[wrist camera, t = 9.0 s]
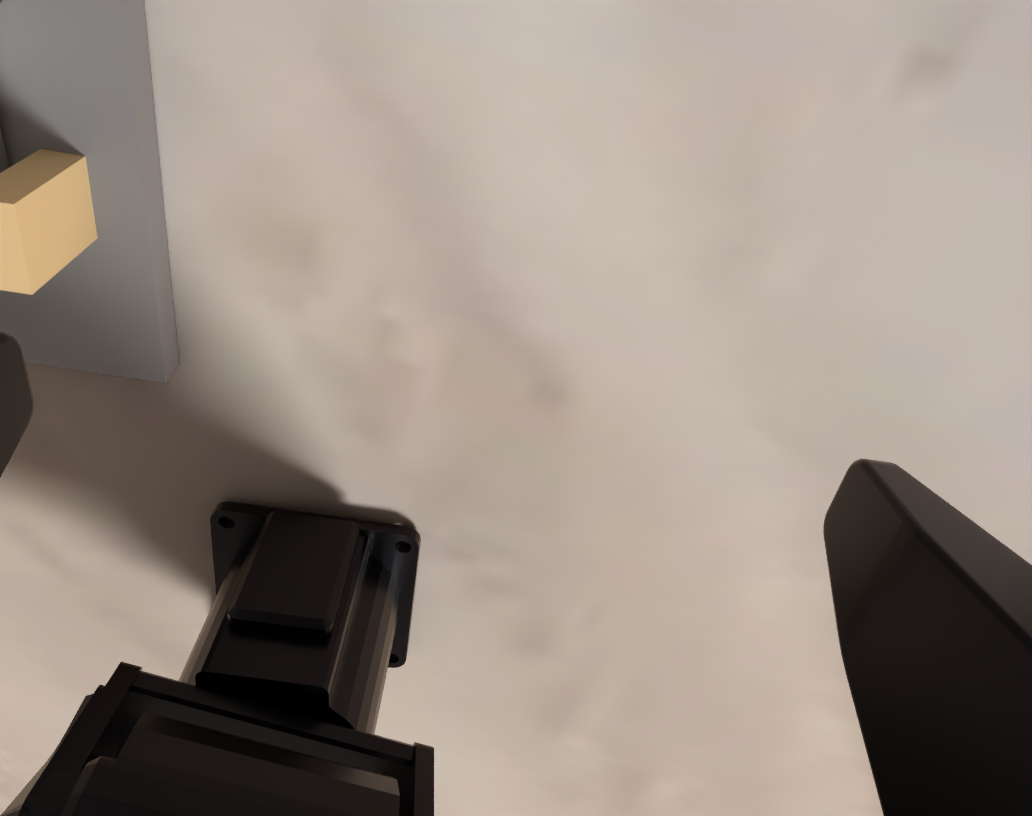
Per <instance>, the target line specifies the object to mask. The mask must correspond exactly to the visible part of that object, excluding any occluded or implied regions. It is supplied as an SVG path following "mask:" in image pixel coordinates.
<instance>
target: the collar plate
mask: <svg viewBox="0 0 1032 816" xmlns="http://www.w3.org/2000/svg"><path fill="white" fill-rule="evenodd" d="M0 128H1V133H2V138H3V143H4V147H5V152H6V157H7V162H8V167H9V168H8V169H6V170H5V171H3V172H1V173H0V332H5V333H10V334H11V335H13V336H14V337H16V338H17V340H18V341H19V343H20V345H21V348H22V352H23V356H24V361H25V363H29V364H36V365H43V366H50V367H57V368H64V369H70V370H77V371H84V372H91V373H98V374H104V375H111V376H118V377H125V378H132V379H139V380H145V381H152V382H159V383H166V382H167V380H168V379H169V378H170V376H171V375H172V373H173V372H174V371H175V369H176V368H177V366H178V365H179V355H178V345H177V335H176V324H175V314H174V304H173V293H172V283H171V273H170V262H169V252H168V242H167V231H166V221H165V211H164V200H163V190H162V180H161V169H160V159H159V149H158V138H157V128H156V118H155V107H154V97H153V87H152V76H151V66H150V56H149V46H148V35H147V25H146V15H145V4H144V0H0Z"/></svg>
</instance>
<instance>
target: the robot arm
mask: <svg viewBox="0 0 1032 816" xmlns="http://www.w3.org/2000/svg"><path fill="white" fill-rule="evenodd" d="M32 411H33V396H32V392H31V387H30V383H29V378H28V374H27V370H26V365H25V361H24V356H23V352H22V348H21V345H20V343H19V341H18V340H17V338H16V337H14V336H13V335H11V334H10V333H5V332H0V477H1V475H2V473H3V471H4V469H5V467H6V466H7V464H8V462H9V460H10V458H11V456H12V454H13V452H14V450H15V448H16V447H17V445H18V443H19V441H20V439H21V437H22V435H23V433H24V431H25V429H26V428H27V426H28V424H29V421H30V419H31V416H32ZM225 516H227V517H230V518H231V519H233V520H230V519H227V518H226V517H225ZM210 523H211V535H212V547H213V560H214V572H215V584H216V599H215V601H214V603H213V605H212V608H211V610H210V612H209V614H208V617H207V619H206V621H205V623H204V625H203V628H202V630H201V632H200V634H199V637H198V639H197V641H196V643H195V645H194V648H193V650H192V652H191V654H190V657H189V659H188V661H187V663H186V666H185V668H184V670H183V672H182V674H181V677H180V679H179V681H176V680H173V679H169V678H165V677H162V676H158V675H154V674H151V673H147V672H143V671H141V670H142V667H139V666H135V665H132V664H128V663H124V662H121V663H120V664H119V666H118V667H117V669H116V670H115V672H114V673H113V675H112V676H111V678H110V680H109V681H108V683H107V684H106V686H103V685H99V687H98V688H97V689H96V691H95V693H94V694H91V695H87V696H86V697H85V699H84V700H83V702H82V704H81V706H80V708H79V710H78V711H77V713H76V715H75V717H74V719H73V720H72V722H71V724H70V726H69V728H68V730H67V731H66V733H65V735H64V737H63V738H62V740H61V742H60V743H59V745H58V746H57V748H56V750H55V751H54V753H53V754H52V755H51V757H50V758H49V759H48V761H47V762H46V763H45V764H44V765H43V766H42V768H41V769H40V770H39V771H38V772H37V773H36V775H35V776H34V777H33V778H32V779H31V780H30V782H29V783H28V784H27V785H26V786H25V787H24V789H23V790H22V791H21V792H20V793H19V795H18V796H17V797H16V798H15V799H14V800H13V802H12V803H11V804H10V805H9V806H8V807H7V809H6V810H5V811H4V812H3V813H2V814H1V816H434V747H430V746H427V745H423V744H419V743H416V742H415V743H414V745H410V744H407V743H403V742H399V741H396V740H392V739H388V738H385V737H381V736H377V735H374V732H375V727H376V723H377V718H378V713H379V708H380V703H381V698H382V693H383V688H384V683H385V678H386V673H387V668H388V667H390V668H396V667H400V666H402V665H403V664H404V663H405V661H406V657H407V651H408V643H409V634H410V626H411V618H412V609H413V601H414V592H415V584H416V576H417V567H418V559H419V550H420V542H421V539H420V535H419V533H418V532H417V531H416V530H414V529H413V528H410V527H406V526H399V525H392V524H385V523H378V522H371V521H363V520H356V519H349V518H342V517H335V516H327V515H320V514H313V513H306V512H299V511H292V510H284V509H277V508H270V507H263V506H256V505H249V504H241V503H234V502H222V503H220V504H218V505H217V506H216V507H215V509H214V511H213V513H212V515H211V519H210ZM824 540H825V547H826V554H827V561H828V568H829V575H830V582H831V589H832V596H833V603H834V610H835V617H836V624H837V631H838V637H839V643H840V649H841V654H842V658H843V663H844V667H845V671H846V675H847V679H848V683H849V687H850V690H851V694H852V698H853V702H854V705H855V709H856V713H857V717H858V720H859V724H860V728H861V732H862V736H863V739H864V743H865V747H866V751H867V754H868V758H869V762H870V766H871V769H872V773H873V777H874V781H875V785H876V788H877V792H878V796H879V800H880V803H881V807H882V811H883V815H884V816H1032V565H1031V564H1029V563H1028V562H1027V561H1025V560H1024V559H1023V558H1021V557H1020V556H1019V555H1017V554H1016V553H1015V552H1013V551H1012V550H1011V549H1009V548H1008V547H1007V546H1005V545H1004V544H1003V543H1001V542H1000V541H999V540H997V539H996V538H995V537H993V536H992V535H990V534H989V533H988V532H986V531H985V530H984V529H982V528H981V527H980V526H978V525H977V524H976V523H974V522H973V521H972V520H970V519H969V518H968V517H966V516H965V515H964V514H962V513H961V512H960V511H958V510H957V509H956V508H954V507H953V506H952V505H950V504H949V503H947V502H946V501H945V500H943V499H942V498H941V497H939V496H938V495H937V494H935V493H934V492H933V491H931V490H930V489H929V488H927V487H926V486H925V485H923V484H922V483H921V482H919V481H918V480H917V479H915V478H914V477H913V476H911V475H910V474H909V473H907V472H906V471H905V470H903V469H902V468H900V467H899V466H898V465H896V464H893V463H889V462H882V461H875V460H868V459H859V460H857V461H855V462H853V464H852V465H851V466H850V467H849V469H848V470H847V472H846V474H845V476H844V478H843V480H842V483H841V485H840V487H839V489H838V491H837V493H836V495H835V497H834V499H833V501H832V503H831V505H830V507H829V509H828V511H827V513H826V517H825V520H824ZM399 541H406V542H408V543H409V544H404V543H401V542H399Z"/></svg>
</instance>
